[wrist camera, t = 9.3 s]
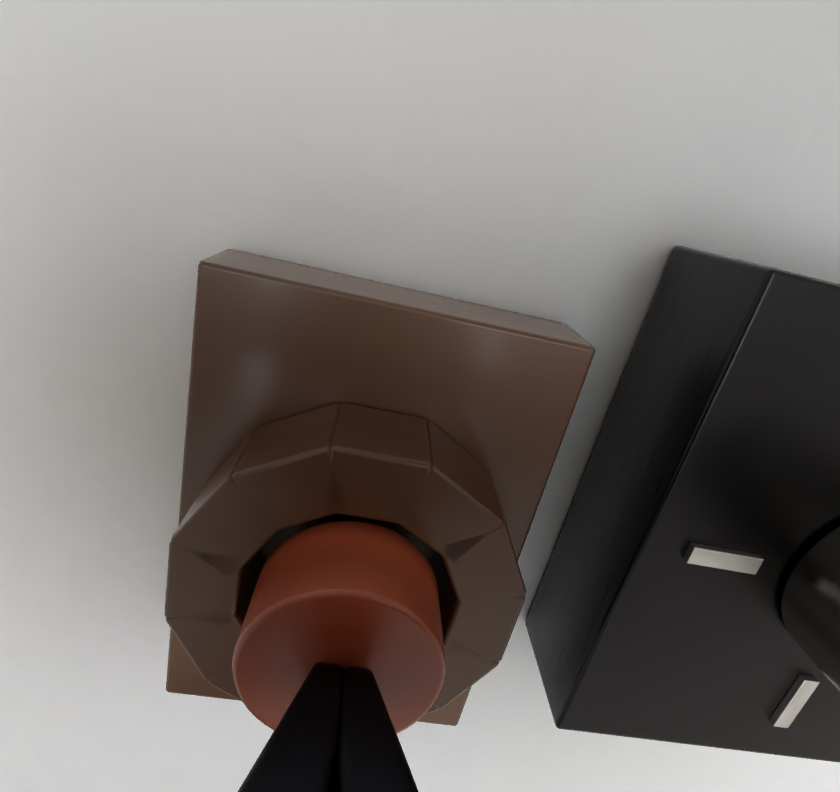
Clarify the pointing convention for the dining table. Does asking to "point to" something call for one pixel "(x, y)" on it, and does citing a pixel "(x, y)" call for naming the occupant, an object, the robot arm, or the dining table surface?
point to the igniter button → (343, 620)
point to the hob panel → (703, 521)
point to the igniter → (361, 449)
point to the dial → (816, 605)
